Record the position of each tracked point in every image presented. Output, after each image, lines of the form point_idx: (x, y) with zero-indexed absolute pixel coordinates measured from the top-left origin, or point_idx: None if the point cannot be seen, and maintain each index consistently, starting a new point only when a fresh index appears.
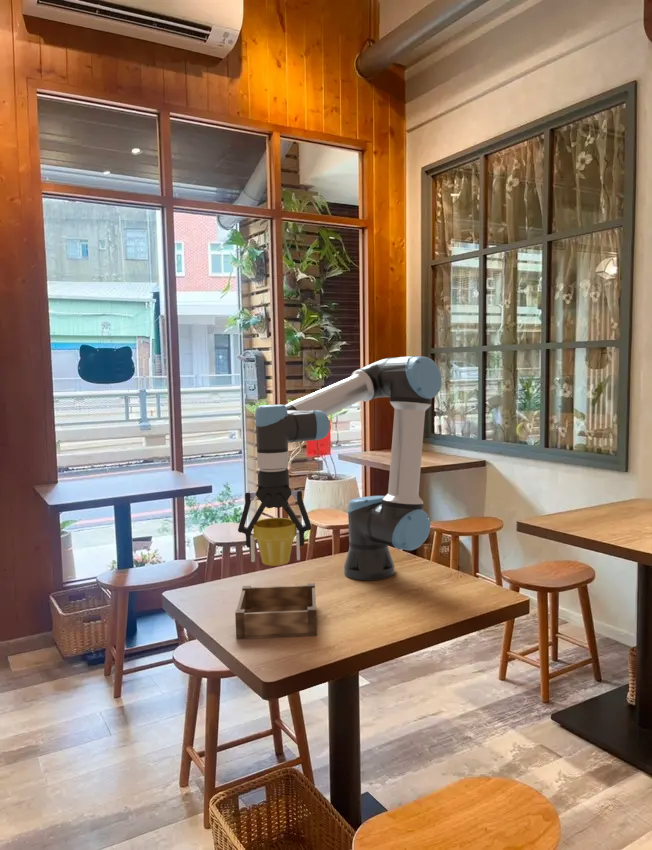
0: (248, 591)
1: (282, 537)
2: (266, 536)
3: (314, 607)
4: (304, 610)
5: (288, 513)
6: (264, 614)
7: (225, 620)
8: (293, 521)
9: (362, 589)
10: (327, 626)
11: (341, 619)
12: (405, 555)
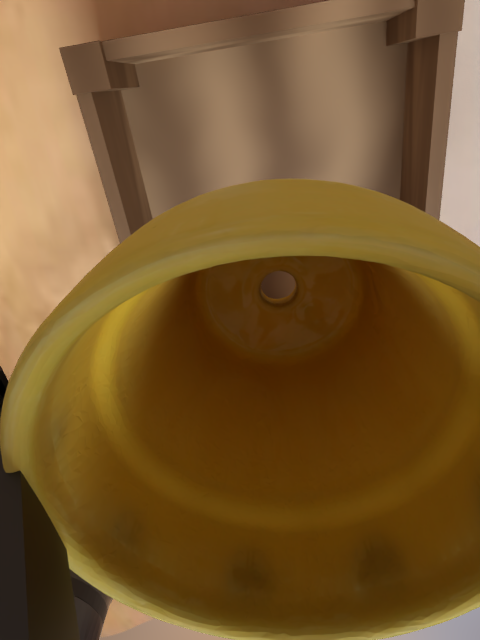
0: None
1: (150, 222)
2: (368, 193)
3: (76, 79)
4: (120, 58)
5: (5, 632)
6: (308, 4)
7: (466, 199)
8: (8, 495)
9: None
10: (90, 151)
11: (61, 216)
12: None
